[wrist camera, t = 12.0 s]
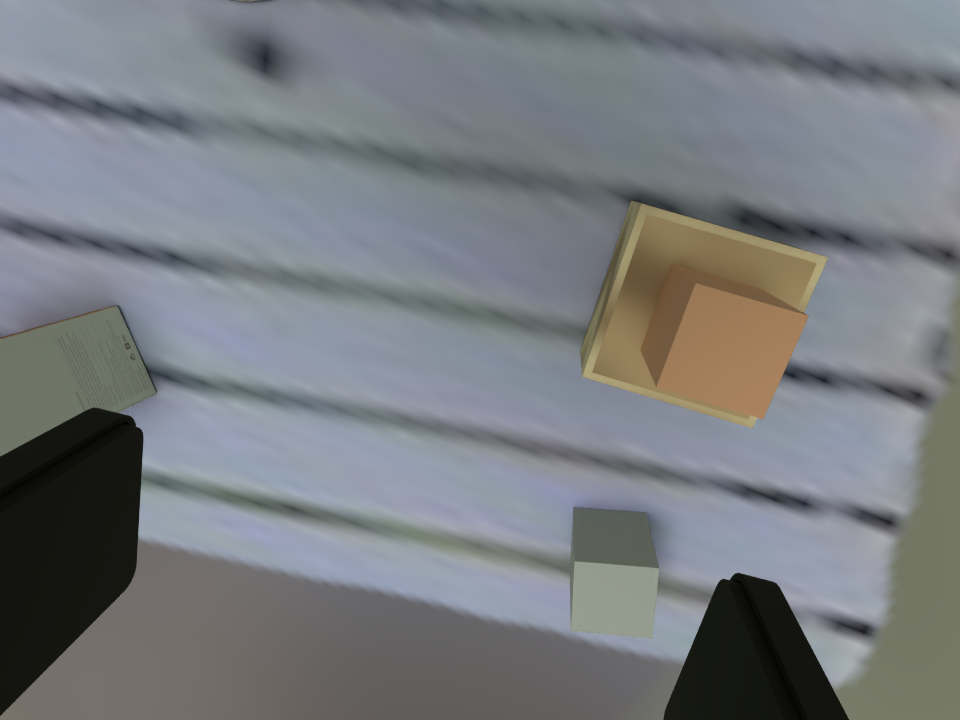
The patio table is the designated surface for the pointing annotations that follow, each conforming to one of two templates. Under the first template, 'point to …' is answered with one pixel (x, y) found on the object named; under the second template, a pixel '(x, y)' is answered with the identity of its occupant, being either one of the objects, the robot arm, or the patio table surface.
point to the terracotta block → (720, 341)
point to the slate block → (612, 573)
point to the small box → (67, 374)
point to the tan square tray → (641, 276)
